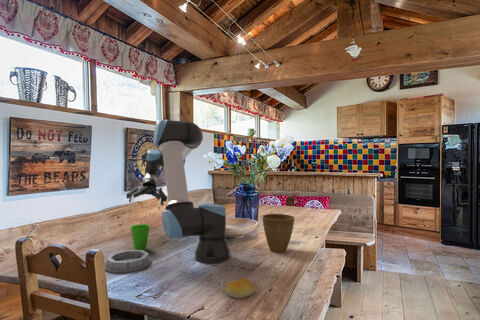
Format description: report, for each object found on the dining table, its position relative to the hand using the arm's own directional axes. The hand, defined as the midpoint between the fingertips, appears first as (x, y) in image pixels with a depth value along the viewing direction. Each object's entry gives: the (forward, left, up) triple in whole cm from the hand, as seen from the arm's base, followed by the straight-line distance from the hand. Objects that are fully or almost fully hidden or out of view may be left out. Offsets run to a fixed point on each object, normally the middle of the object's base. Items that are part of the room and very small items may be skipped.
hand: (145, 206), depth 144 cm
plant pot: (-52, -41, -19) cm, 69 cm away
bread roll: (-70, +1, -20) cm, 73 cm away
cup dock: (-21, +17, -19) cm, 33 cm away
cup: (-6, +5, -19) cm, 21 cm away
